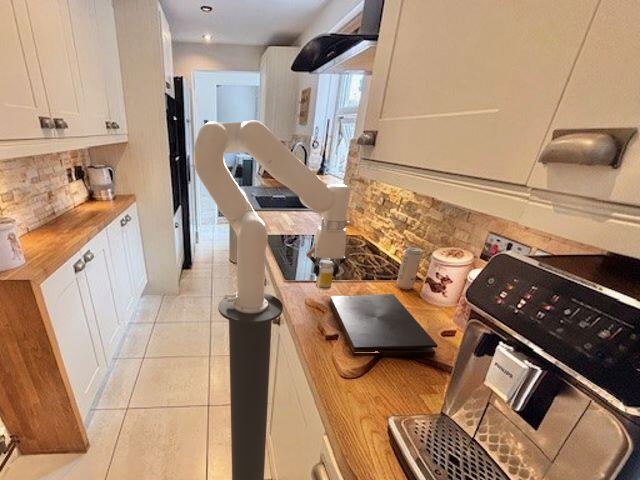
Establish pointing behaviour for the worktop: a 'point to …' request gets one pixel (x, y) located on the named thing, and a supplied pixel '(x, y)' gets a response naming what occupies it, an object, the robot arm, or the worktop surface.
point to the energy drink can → (409, 267)
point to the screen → (380, 323)
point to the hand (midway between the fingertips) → (325, 274)
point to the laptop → (386, 352)
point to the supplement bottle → (325, 275)
